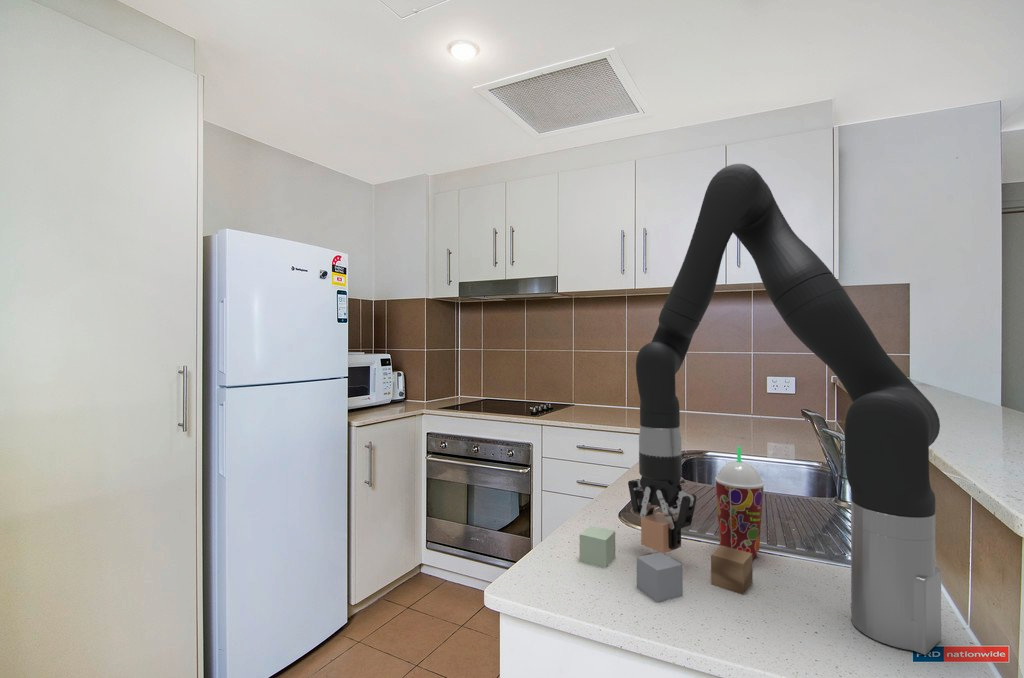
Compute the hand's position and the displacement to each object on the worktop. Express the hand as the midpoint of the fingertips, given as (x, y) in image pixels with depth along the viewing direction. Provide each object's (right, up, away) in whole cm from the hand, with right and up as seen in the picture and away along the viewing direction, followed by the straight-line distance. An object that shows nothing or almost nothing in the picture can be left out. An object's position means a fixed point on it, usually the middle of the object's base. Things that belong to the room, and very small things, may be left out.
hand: (661, 542), depth 91 cm
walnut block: (+9, -3, -9) cm, 13 cm away
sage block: (-12, -3, 0) cm, 12 cm away
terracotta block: (0, -1, 0) cm, 1 cm away
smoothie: (+15, -3, +3) cm, 16 cm away
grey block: (-4, -3, -12) cm, 13 cm away
